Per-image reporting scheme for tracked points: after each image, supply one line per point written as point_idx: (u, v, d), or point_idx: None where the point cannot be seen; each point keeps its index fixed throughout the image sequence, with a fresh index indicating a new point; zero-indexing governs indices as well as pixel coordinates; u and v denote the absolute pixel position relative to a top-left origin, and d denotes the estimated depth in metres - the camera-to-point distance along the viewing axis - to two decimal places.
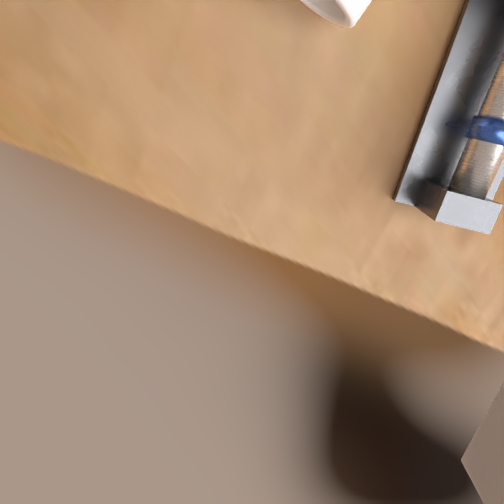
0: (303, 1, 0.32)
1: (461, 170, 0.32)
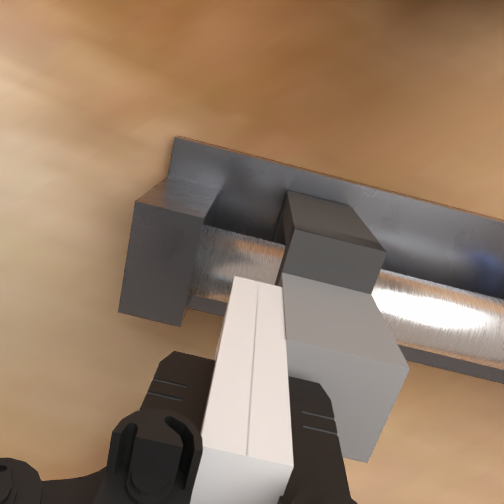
0: None
1: None
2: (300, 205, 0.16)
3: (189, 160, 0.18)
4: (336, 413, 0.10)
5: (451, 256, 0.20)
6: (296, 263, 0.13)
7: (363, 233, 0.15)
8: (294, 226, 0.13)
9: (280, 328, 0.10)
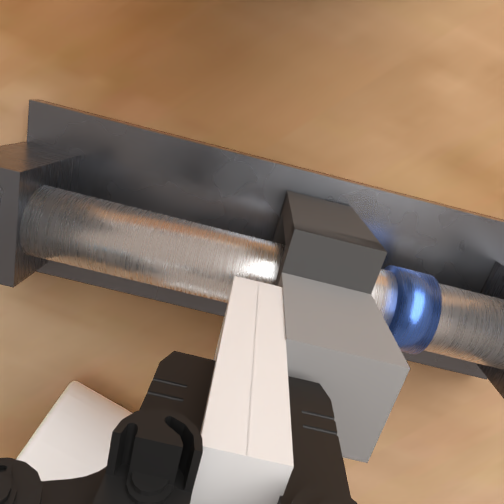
0: None
1: None
2: (300, 205, 0.16)
3: (46, 123, 0.18)
4: (336, 412, 0.10)
5: None
6: (296, 263, 0.13)
7: (363, 233, 0.15)
8: (294, 226, 0.13)
9: (280, 328, 0.10)
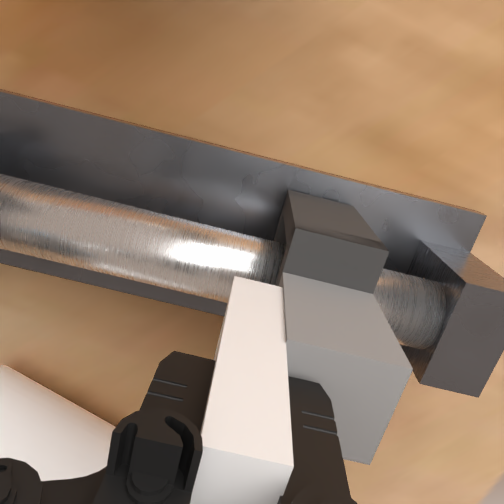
0: None
1: None
2: (301, 204, 0.16)
3: None
4: (338, 414, 0.10)
5: (241, 202, 0.19)
6: (297, 263, 0.13)
7: (365, 232, 0.14)
8: (295, 225, 0.13)
9: (280, 328, 0.10)
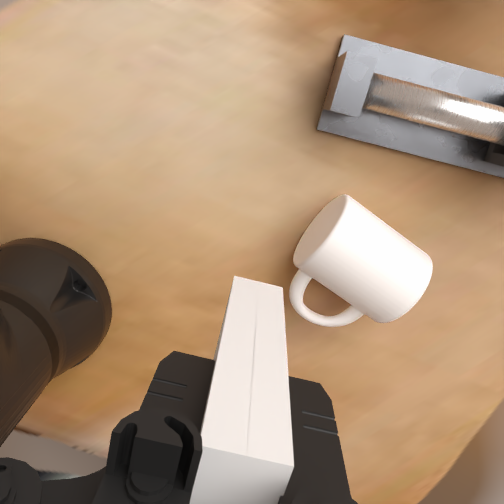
0: None
1: None
2: None
3: (350, 47, 0.36)
4: None
5: (485, 100, 0.37)
6: None
7: None
8: None
9: (280, 328, 0.10)
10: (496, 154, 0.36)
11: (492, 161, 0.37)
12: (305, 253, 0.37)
